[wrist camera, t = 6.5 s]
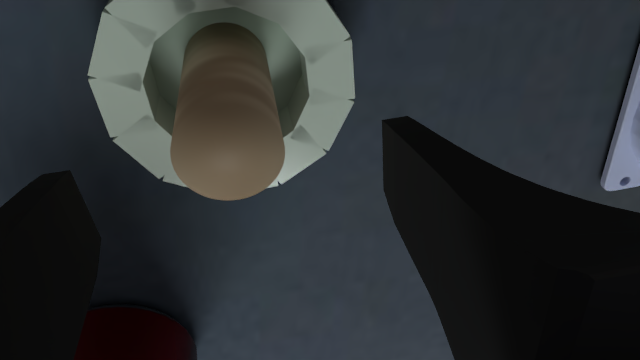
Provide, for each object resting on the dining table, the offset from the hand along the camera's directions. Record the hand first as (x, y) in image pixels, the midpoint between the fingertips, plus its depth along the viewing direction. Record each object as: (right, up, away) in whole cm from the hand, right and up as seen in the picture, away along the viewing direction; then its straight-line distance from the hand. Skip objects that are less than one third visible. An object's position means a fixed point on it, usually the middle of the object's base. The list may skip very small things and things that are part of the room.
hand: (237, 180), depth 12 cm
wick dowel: (-1, +4, +6) cm, 7 cm away
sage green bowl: (-1, +4, +6) cm, 8 cm away
